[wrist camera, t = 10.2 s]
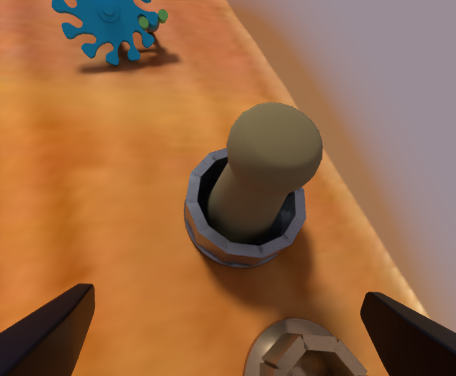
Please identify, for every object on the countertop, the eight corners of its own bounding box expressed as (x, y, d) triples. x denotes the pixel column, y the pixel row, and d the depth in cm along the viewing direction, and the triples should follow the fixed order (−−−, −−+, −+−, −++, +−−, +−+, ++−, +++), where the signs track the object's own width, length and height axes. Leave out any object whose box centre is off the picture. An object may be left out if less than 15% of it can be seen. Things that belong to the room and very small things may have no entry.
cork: (280, 197, 24) (350, 112, 14) (260, 258, 21) (330, 202, 11) (220, 171, 24) (249, 69, 14) (192, 227, 21) (203, 147, 11)
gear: (57, 58, 26) (40, -68, 23) (68, 65, 31) (55, -36, 28) (169, 69, 30) (167, -36, 27) (162, 74, 35) (160, -14, 32)
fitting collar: (292, 274, 21) (311, 266, 18) (175, 261, 20) (173, 250, 17) (288, 175, 26) (303, 154, 23) (192, 159, 25) (194, 136, 22)
